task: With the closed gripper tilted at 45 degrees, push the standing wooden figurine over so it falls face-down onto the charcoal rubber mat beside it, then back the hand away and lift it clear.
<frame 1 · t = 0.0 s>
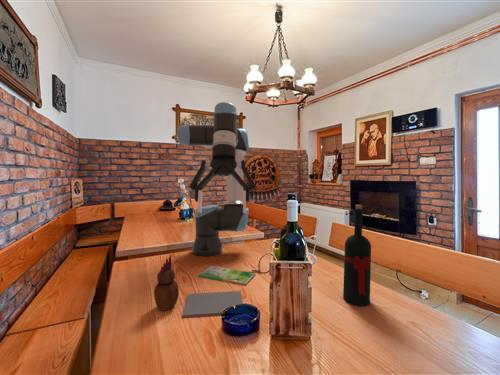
hand: (221, 212, 73), 28 cm above the table, tool tilted 20°, fingers open, 13 cm apart
decorative block: (227, 277, 94), on the table
wooden figurine: (166, 307, 72), on the table
wine bottle: (357, 302, 75), on the table
charcoal rubber mat: (214, 303, 74), on the table
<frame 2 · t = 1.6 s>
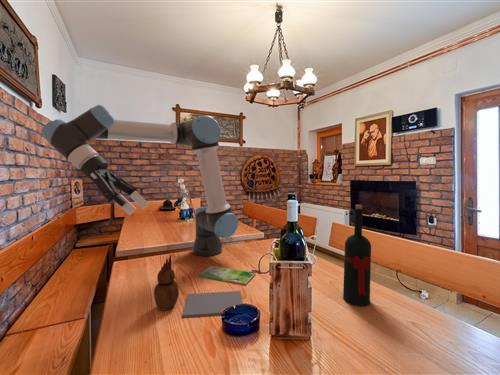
hand: (140, 209, 80), 28 cm above the table, tool tilted 45°, fingers open, 13 cm apart
nothing on the table moved.
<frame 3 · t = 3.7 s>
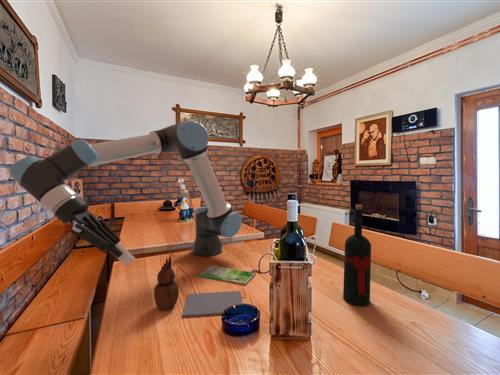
hand: (130, 262, 70), 14 cm above the table, tool tilted 45°, fingers closed
nothing on the table moved.
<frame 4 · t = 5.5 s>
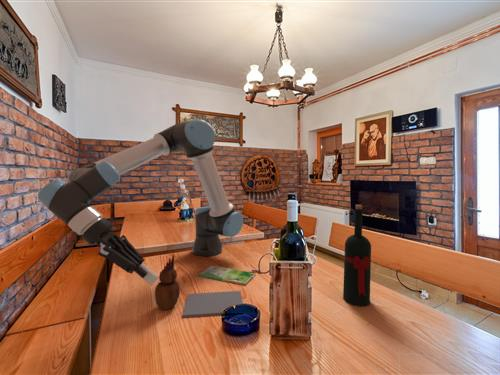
hand: (155, 281, 71), 8 cm above the table, tool tilted 45°, fingers closed
wooden figurine: (166, 306, 72), on the table, touching gripper
everything else where it was.
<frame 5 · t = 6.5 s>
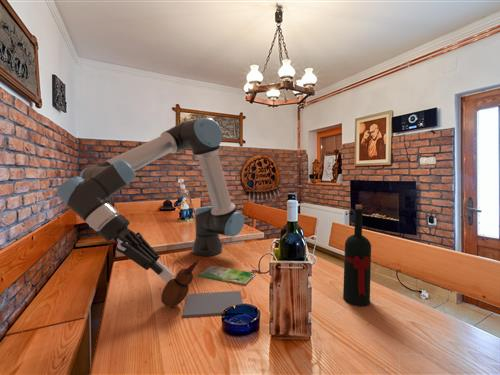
hand: (170, 278, 71), 9 cm above the table, tool tilted 45°, fingers closed
wooden figurine: (167, 303, 72), point 1 cm above the table, touching gripper
everything else where it was.
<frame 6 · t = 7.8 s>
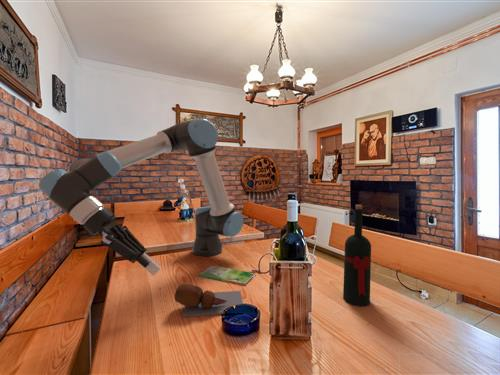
hand: (157, 271, 71), 11 cm above the table, tool tilted 45°, fingers closed
wooden figurine: (176, 291, 71), point 5 cm above the table, touching charcoal rubber mat
everything else where it was.
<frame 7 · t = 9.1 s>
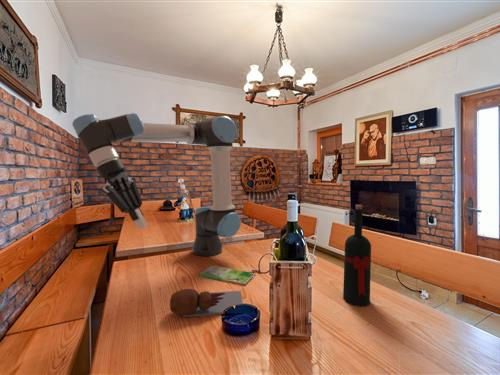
hand: (143, 227, 81), 22 cm above the table, tool tilted 25°, fingers closed
wooden figurine: (170, 302, 68), point 4 cm above the table, touching charcoal rubber mat
everything else where it was.
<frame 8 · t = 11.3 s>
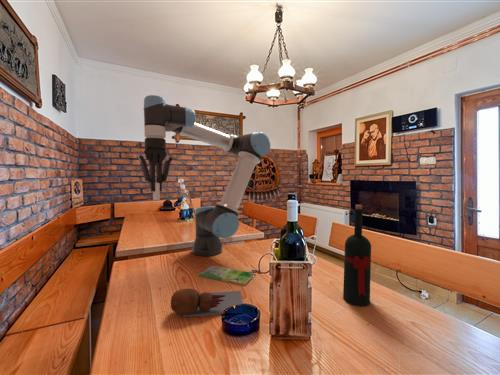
hand: (156, 199, 94), 29 cm above the table, tool pointing down, fingers closed
nothing on the table moved.
at the end: wooden figurine tilted 93°; wooden figurine touching charcoal rubber mat; the gripper is holding nothing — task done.
